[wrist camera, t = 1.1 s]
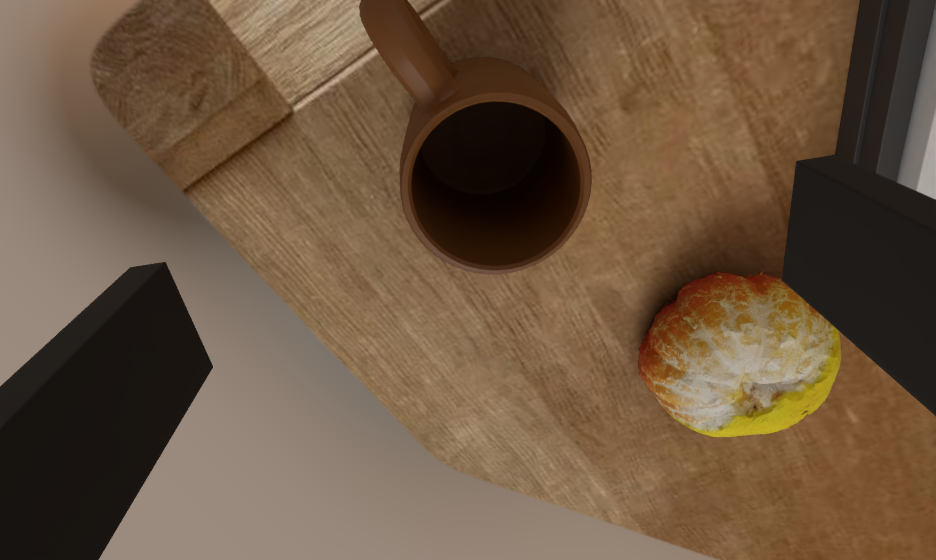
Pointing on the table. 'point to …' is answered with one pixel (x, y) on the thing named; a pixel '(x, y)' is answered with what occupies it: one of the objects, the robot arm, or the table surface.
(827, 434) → the table surface
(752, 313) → the fruit
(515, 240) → the mug
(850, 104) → the scale
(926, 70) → the scale pan
